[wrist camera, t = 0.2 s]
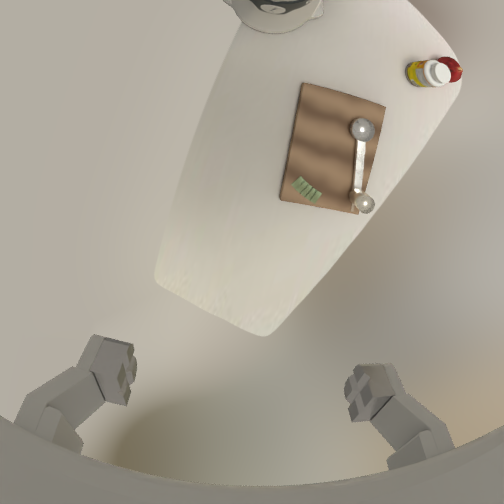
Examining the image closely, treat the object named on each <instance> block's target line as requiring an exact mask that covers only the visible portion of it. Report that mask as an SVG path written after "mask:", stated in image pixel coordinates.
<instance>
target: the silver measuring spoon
mask: <svg viewBox="0 0 504 504" xmlns="http://www.w3.org/2000/svg"><path fill="white" fill-rule="evenodd" d="M350 133H351V135H352V137H353V138H355V139H356V148H355V161H354V173H353V184H352V191H351V192H350V195H349V198H350V201H351V202H352V203H353V204H354V205H355V206H356V207H357V208H358V209H359V210H360V211H361V212H362V213H365V214H367V213H370V212H371V211H372V210H373V209H374V206H375V203H374V200H373V199H372V198H371V197H370V196H369V195H368V194H366V193H365V192H364V191H363V190H362V189H361V188H362V179H363V169H364V157H365V144H366V142H367V141H370V140H371V139H372V138H373V136H374V134H375V128H374V125H373V123H372V122H371V121H369V120H368V119H364V118H357V119H354V120H353V121H352V122H351V124H350Z"/></svg>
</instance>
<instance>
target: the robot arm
mask: <svg viewBox="0 0 504 504" xmlns="http://www.w3.org/2000/svg"><path fill="white" fill-rule="evenodd" d="M223 1H224V2H225V3H227V4H228V5H230V6H231V7H232V8H233V9H234V10H235V12H236V14H237V16H238V17H239V18H240V19H241V21H243V22H244V23H245V24H246V25H248V26H249V27H251V28H253V29H255V30H258V31H261V32H265V33H274V34H277V33H286V32H290V31H292V30H295V29H297V28H299V27H300V26H302V25H303V24H304V23H305V22H307V21H308V20H311V19H315V18H318V17H321V16H322V14H323V0H223ZM133 353H134V347H133V344H131V343H127V342H123V341H119V340H115V339H111V338H107V337H103V336H99V335H95V334H94V335H93V336H92V337H91V338H90V340H89V342H88V344H87V346H86V347H85V349H84V352H83V353H82V356H81V358H80V360H79V362H78V364H77V366H76V367H71V368H69V369H68V370H66V371H64V372H63V373H61V374H59V375H58V376H56V377H55V378H53V379H52V380H50V381H48V382H47V383H45V384H43V385H42V386H41V387H39V388H37V389H35V390H34V391H32V392H31V393H29V394H27V395H26V397H25V399H24V401H23V404H22V406H21V408H20V410H19V412H18V414H17V417H16V419H15V421H14V423H12V422H10V421H9V420H7V419H5V418H4V417H2V416H0V504H504V426H501V427H499V428H497V429H495V430H493V431H491V432H489V433H488V434H486V435H484V436H482V437H479V438H477V439H475V440H473V441H471V442H469V443H467V444H465V445H462V446H460V447H457V448H455V447H454V444H453V442H452V439H451V437H450V434H449V431H448V429H447V426H446V424H445V423H444V422H442V421H441V420H440V419H439V418H438V417H436V416H435V415H434V414H432V412H430V411H429V410H428V409H427V408H425V407H424V406H423V405H421V403H419V402H418V401H417V400H416V399H415V398H413V397H412V396H411V395H409V394H406V393H405V390H404V388H403V385H402V383H401V380H400V378H399V376H398V374H397V371H396V369H395V367H394V365H393V364H392V363H382V364H379V363H376V364H359V365H357V366H356V367H355V368H354V370H353V371H354V374H353V375H351V376H350V377H348V379H347V381H346V383H345V387H344V394H345V398H346V400H347V401H348V402H349V403H350V406H349V408H348V410H349V414H350V417H351V421H352V422H361V421H370V422H371V423H372V425H373V426H374V427H375V428H376V429H377V430H378V431H379V433H380V434H381V435H382V436H383V437H384V438H385V439H386V440H387V442H388V443H389V444H390V445H391V446H392V447H393V448H394V450H395V451H396V452H395V453H393V454H392V455H391V456H389V457H388V459H387V464H388V468H389V470H388V471H384V472H380V473H376V474H371V475H367V476H361V477H356V478H350V479H344V480H338V481H332V482H324V483H314V484H303V485H289V486H233V485H219V484H207V483H199V482H191V481H184V480H177V479H171V478H166V477H160V476H155V475H151V474H145V473H142V472H137V471H133V470H129V469H126V468H121V467H118V466H114V465H111V464H108V463H105V462H102V461H99V460H96V459H93V458H89V457H87V456H84V455H81V451H82V447H83V444H84V443H83V441H82V439H81V438H80V437H79V435H78V434H77V433H76V432H75V429H76V428H77V427H78V426H79V425H80V424H82V423H83V422H84V421H85V420H86V419H87V418H88V417H89V416H91V415H92V414H93V413H94V412H95V411H96V410H97V409H99V407H101V406H102V405H103V404H104V403H105V401H107V402H111V403H115V404H119V405H124V406H127V404H128V400H129V397H130V393H131V390H130V387H129V385H130V384H132V383H133V382H134V380H135V377H136V371H137V361H136V358H135V357H134V356H133Z"/></svg>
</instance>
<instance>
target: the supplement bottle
mask: <svg viewBox="0 0 504 504" xmlns="http://www.w3.org/2000/svg"><path fill="white" fill-rule="evenodd" d="M406 76H407V78H408V80H409V82H410V83H411V84H413V85H414V86H417V87H442V86H444V85H445V83H448V82H449V81H450V79H451V73H450V70H449V68H448V67H447V66H446V65H445V64H443V63H440V62H438V61H436V60H425V61H418V62H412V63H410V64H409V65H408V66H407V68H406Z"/></svg>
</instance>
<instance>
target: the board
mask: <svg viewBox="0 0 504 504" xmlns="http://www.w3.org/2000/svg"><path fill="white" fill-rule="evenodd" d="M385 109H386V107H384V106H382V105H379V104H376V103H373V102H370V101H367V100H364V99H361V98H358V97H355V96H352V95H349V94H345V93H342V92H339V91H335V90H332V89H328V88H324V87H320V86H316V85H312V84H308V83H302V86H301V91H300V97H299V102H298V107H297V112H296V117H295V123H294V128H293V133H292V138H291V143H290V148H289V153H288V158H287V163H286V168H285V173H284V178H283V182H282V187H281V192H280V200H281V201H287V202H293V203H299V204H305V205H311V206H316V207H322V208H327V209H332V210H337V211H343V212H348V213H353V214H357V215H358V214H359V209H358V208H357V207H356V206H355V205H354V204H353V203H352V202H351V201H350V198H349V195H350V192H351V191H352V184H353V173H354V161H355V148H356V139H355V138H353V137H352V135H351V133H350V124H351V122H352V121H353V120H354V119H357V118H364V119H368V120H369V121H371V122H372V123H373V125H374V128H375V134H374V136H373V138H372V139H371V140H370V141H367V142H366V144H365V157H364V169H363V179H362V188H361V189H362V190H363V191H364V192H365V190H366V186H367V183H368V179H369V176H370V172H371V168H372V164H373V161H374V157H375V153H376V149H377V145H378V140H379V136H380V132H381V127H382V123H383V118H384V114H385Z"/></svg>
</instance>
